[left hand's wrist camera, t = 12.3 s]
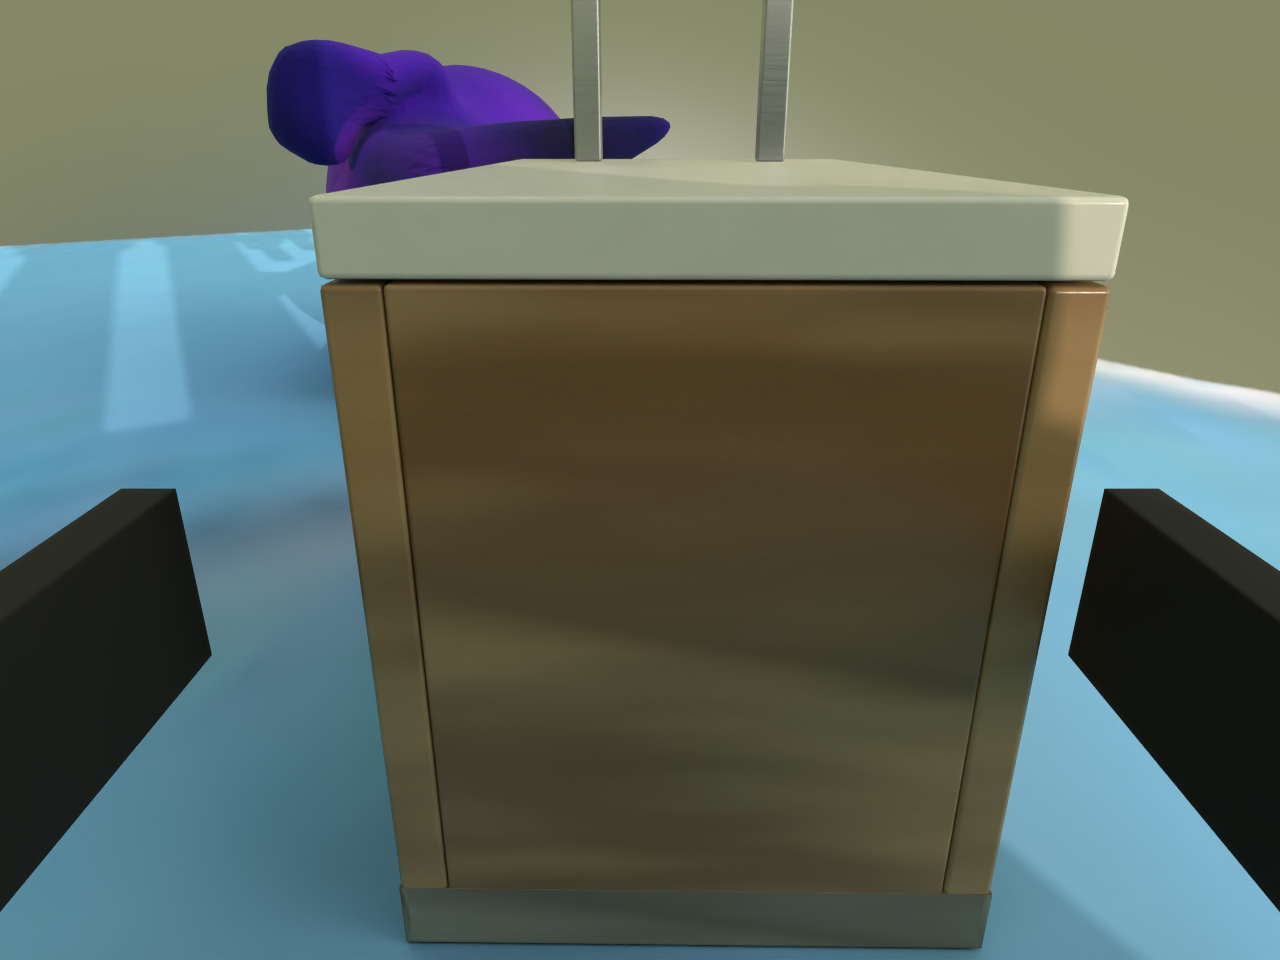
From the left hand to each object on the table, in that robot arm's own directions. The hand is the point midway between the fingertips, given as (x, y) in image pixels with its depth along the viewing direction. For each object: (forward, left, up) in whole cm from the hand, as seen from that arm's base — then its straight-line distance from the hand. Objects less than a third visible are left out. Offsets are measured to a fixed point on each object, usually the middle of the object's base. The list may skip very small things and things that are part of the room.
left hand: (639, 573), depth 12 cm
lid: (-1, -7, +4) cm, 9 cm away
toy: (+7, -37, -6) cm, 38 cm away
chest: (-1, -7, -6) cm, 9 cm away
